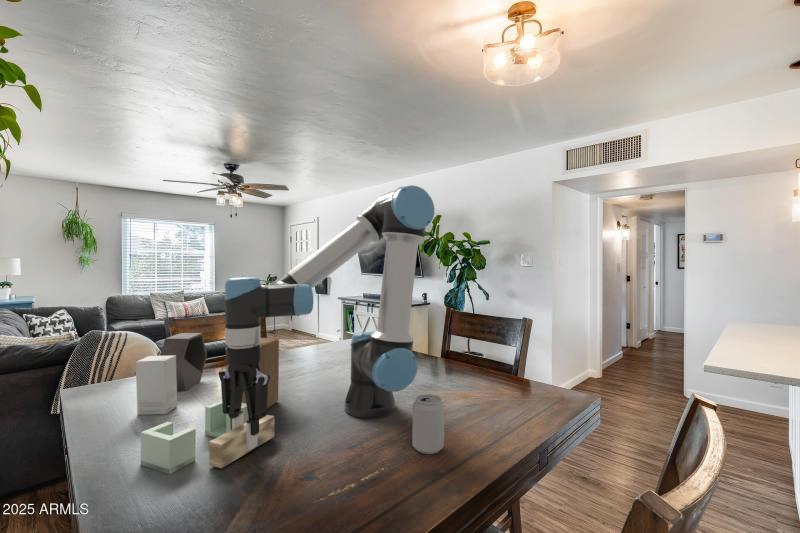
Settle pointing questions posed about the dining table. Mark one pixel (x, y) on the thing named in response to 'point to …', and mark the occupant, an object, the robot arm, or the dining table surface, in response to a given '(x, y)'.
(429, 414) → the can
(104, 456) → the dining table surface
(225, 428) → the end caps
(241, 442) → the slat
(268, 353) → the wooden block
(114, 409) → the dining table surface
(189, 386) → the planter
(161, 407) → the skincare box
